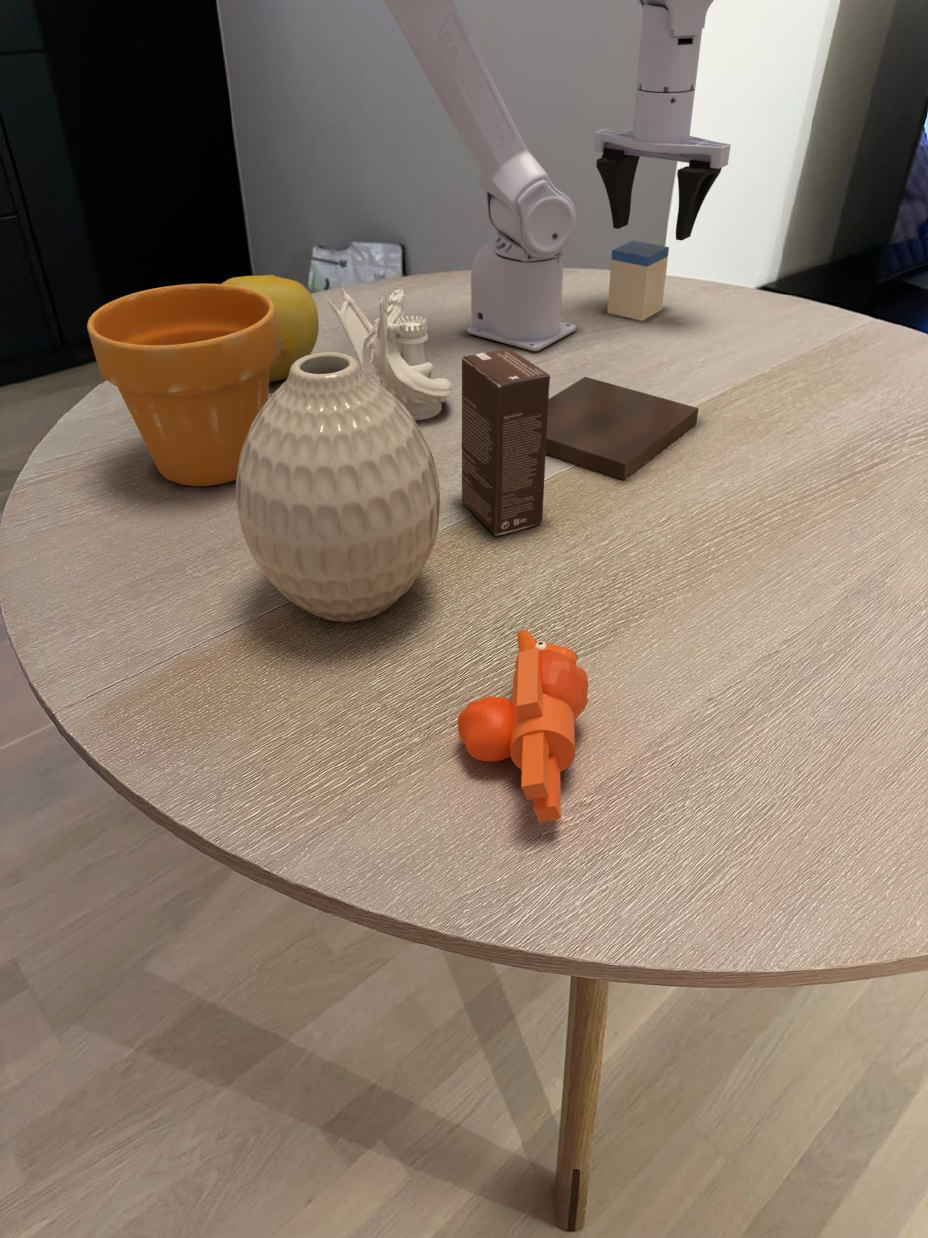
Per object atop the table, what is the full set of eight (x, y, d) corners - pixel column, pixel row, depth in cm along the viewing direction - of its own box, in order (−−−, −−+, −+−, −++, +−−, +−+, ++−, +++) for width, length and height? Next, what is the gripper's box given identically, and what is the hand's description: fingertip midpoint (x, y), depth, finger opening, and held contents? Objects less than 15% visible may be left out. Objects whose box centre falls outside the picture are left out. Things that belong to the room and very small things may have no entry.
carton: (607, 312, 107) (611, 250, 102) (627, 301, 110) (632, 240, 105) (642, 321, 104) (648, 257, 100) (662, 309, 107) (669, 246, 103)
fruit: (341, 377, 94) (331, 276, 87) (242, 404, 89) (224, 299, 83) (296, 346, 100) (284, 250, 94) (202, 370, 96) (182, 271, 90)
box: (546, 523, 71) (553, 373, 64) (494, 538, 69) (494, 386, 62) (509, 488, 75) (511, 344, 68) (459, 501, 74) (455, 356, 66)
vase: (369, 679, 57) (343, 431, 47) (217, 614, 63) (163, 379, 52) (478, 576, 66) (476, 347, 55) (335, 527, 71) (309, 310, 61)
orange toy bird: (580, 758, 44) (574, 605, 53) (432, 787, 46) (452, 634, 55) (607, 826, 46) (597, 669, 56) (467, 850, 48) (480, 695, 58)
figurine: (458, 395, 90) (455, 268, 82) (445, 431, 84) (440, 298, 76) (350, 390, 91) (337, 265, 84) (329, 425, 85) (313, 293, 78)
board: (505, 440, 82) (505, 425, 81) (584, 390, 90) (584, 376, 89) (623, 480, 76) (625, 464, 75) (696, 423, 84) (699, 407, 83)
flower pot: (207, 413, 87) (178, 272, 80) (328, 446, 82) (311, 298, 74) (91, 478, 78) (45, 325, 70) (219, 520, 72) (185, 359, 64)
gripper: (751, 88, 91) (730, 234, 99) (622, 77, 98) (612, 213, 106) (719, 99, 86) (699, 250, 95) (586, 86, 93) (578, 227, 102)
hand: (651, 232), depth 100 cm, fingers open, 7 cm apart
